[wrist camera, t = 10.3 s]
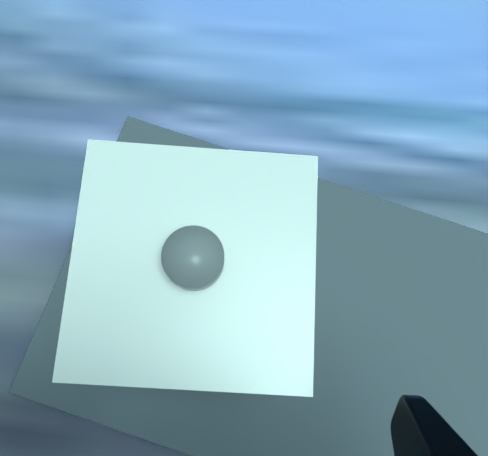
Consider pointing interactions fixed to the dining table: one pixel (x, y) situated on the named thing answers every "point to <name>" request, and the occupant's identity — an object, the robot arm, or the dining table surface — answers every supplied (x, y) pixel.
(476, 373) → the placemat
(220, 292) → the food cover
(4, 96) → the dining table surface
